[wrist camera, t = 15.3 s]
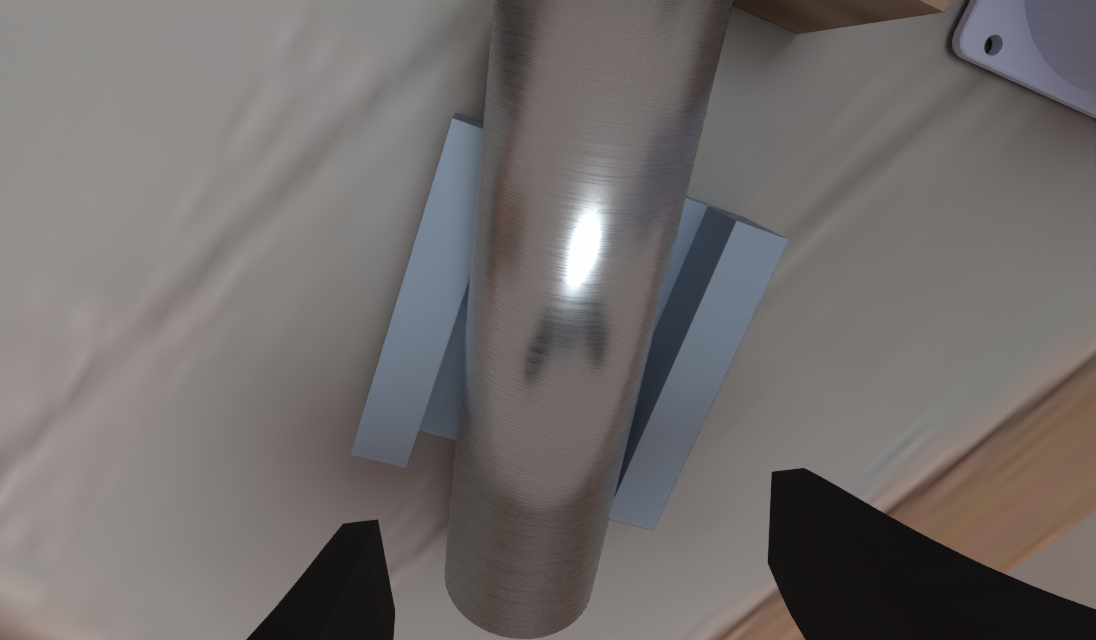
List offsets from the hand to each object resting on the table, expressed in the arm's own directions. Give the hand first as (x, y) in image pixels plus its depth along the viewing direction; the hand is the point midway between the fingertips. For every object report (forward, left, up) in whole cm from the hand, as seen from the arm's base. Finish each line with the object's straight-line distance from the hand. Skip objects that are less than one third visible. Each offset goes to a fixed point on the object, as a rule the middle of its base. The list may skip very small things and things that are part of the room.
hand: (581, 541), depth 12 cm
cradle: (0, -1, -9) cm, 9 cm away
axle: (+1, -2, -5) cm, 5 cm away
